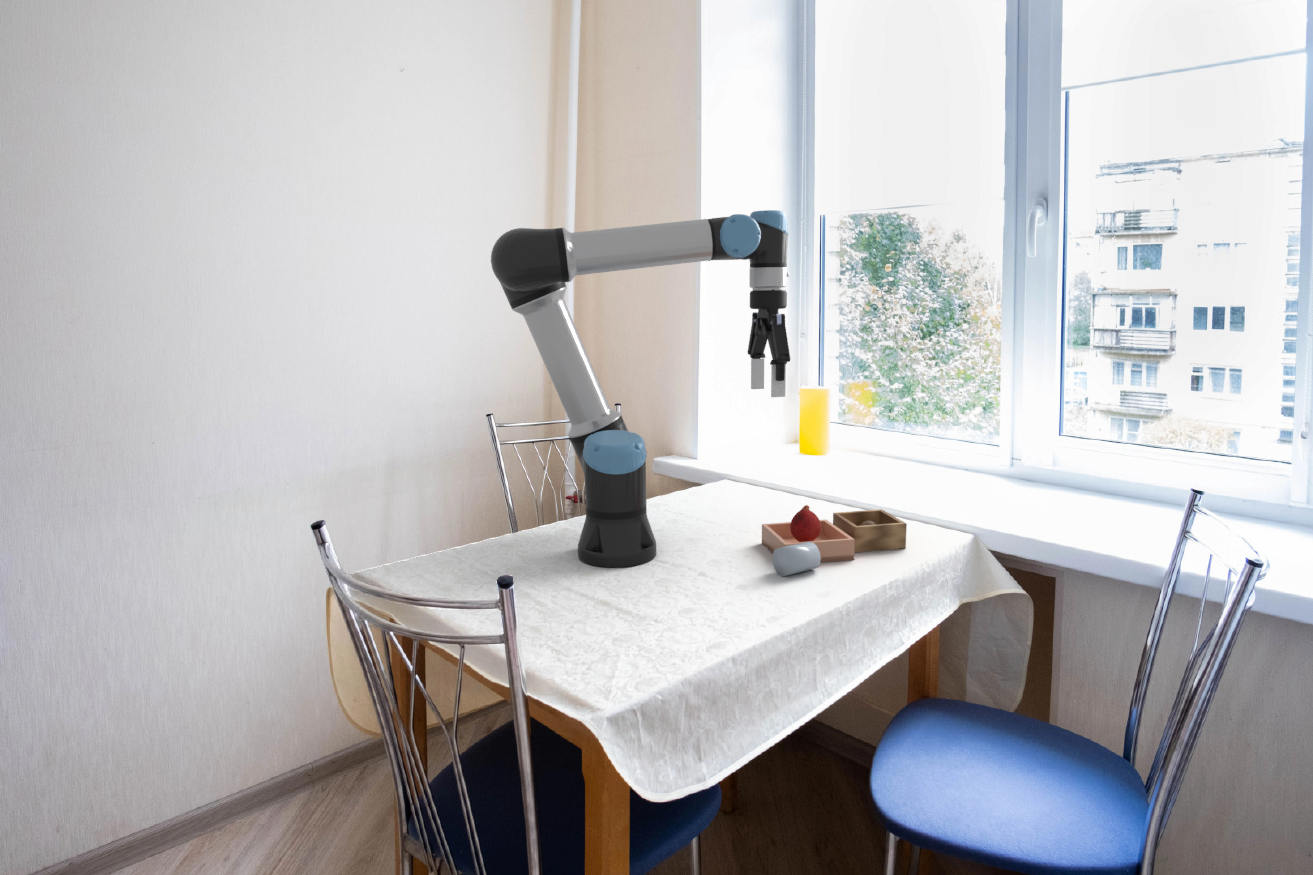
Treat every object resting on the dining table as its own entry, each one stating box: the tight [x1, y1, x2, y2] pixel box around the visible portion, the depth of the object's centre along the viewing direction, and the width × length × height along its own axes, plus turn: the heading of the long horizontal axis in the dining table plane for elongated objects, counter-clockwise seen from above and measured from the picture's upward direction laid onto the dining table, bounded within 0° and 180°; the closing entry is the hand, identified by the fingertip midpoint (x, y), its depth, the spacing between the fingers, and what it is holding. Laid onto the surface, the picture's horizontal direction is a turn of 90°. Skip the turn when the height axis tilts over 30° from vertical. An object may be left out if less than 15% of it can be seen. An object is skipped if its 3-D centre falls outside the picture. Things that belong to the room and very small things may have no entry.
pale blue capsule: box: [771, 541, 821, 577], centre depth 147 cm, size 7×5×5 cm
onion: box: [790, 504, 821, 542], centre depth 158 cm, size 6×6×8 cm
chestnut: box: [860, 521, 876, 526], centre depth 163 cm, size 4×4×4 cm
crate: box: [832, 508, 908, 553], centre depth 163 cm, size 11×11×5 cm
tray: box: [761, 519, 855, 564], centre depth 158 cm, size 14×14×4 cm
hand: (767, 392), depth 171 cm, fingers open, 13 cm apart
